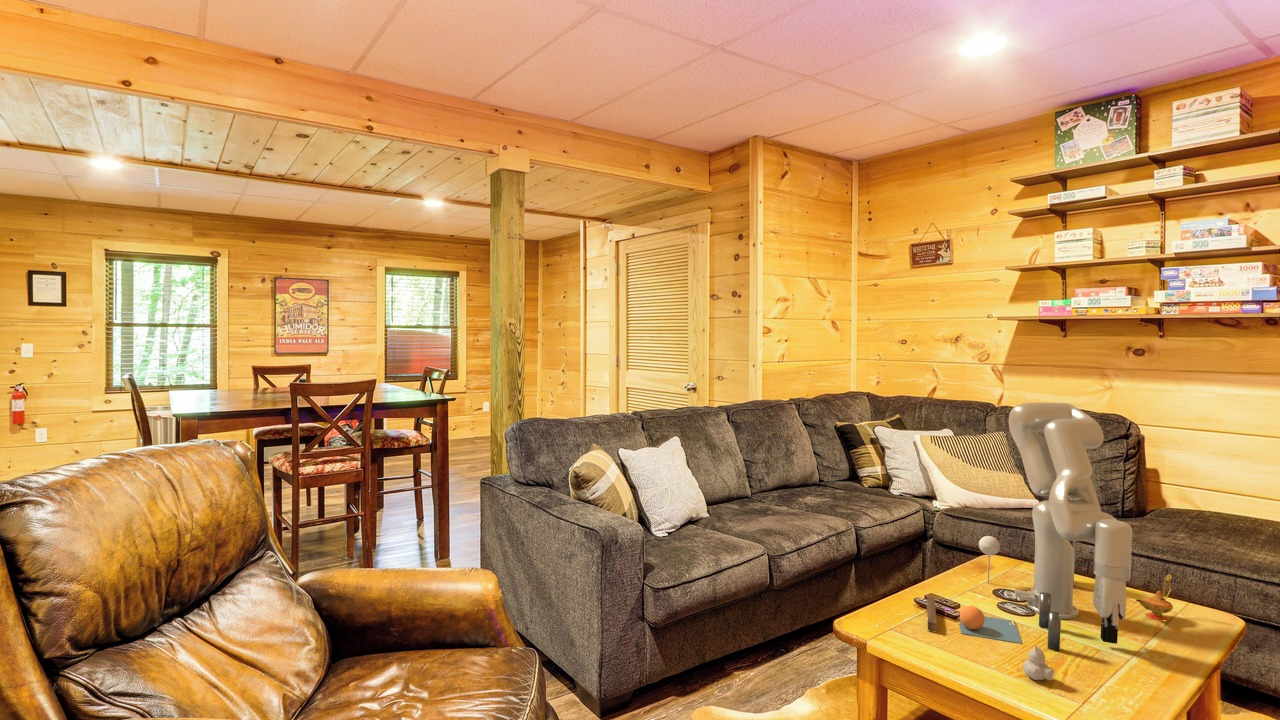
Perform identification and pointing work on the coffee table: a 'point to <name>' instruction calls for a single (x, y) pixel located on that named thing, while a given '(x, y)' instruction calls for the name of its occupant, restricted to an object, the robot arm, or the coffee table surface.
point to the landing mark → (995, 630)
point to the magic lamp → (1157, 603)
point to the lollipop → (989, 548)
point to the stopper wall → (931, 613)
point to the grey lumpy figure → (1037, 666)
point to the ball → (972, 617)
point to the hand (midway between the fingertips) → (1108, 641)
